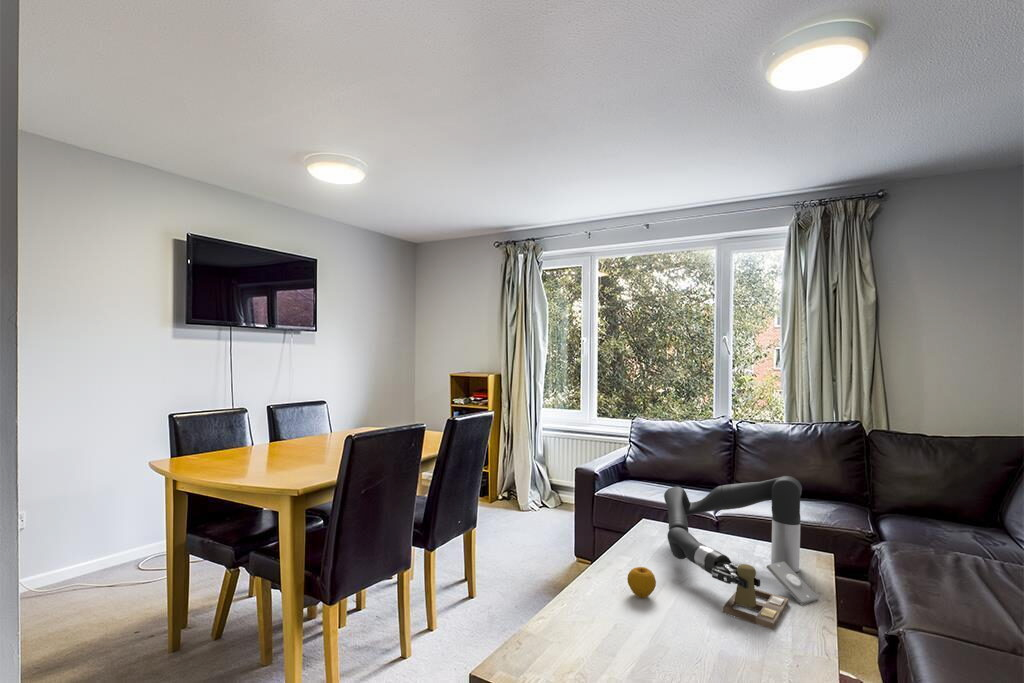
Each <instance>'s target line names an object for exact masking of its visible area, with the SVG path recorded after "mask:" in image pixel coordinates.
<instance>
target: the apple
mask: <svg viewBox="0 0 1024 683" xmlns="http://www.w3.org/2000/svg"><path fill="white" fill-rule="evenodd" d="M626 579H627V585H628V586H629V588H630V590H631V591H632V593H633V595H635V596H636V597H638V599H642V598H643V599H646V598H648V597H649V596H650V595H651V594H652V593H653V592H654V590H655V588H656V586H657V580H656V577H655V574H654V573H653V572H652V570H650V569H649V568H648V567H645V566H637V567H634V568H633V567H632V569H631V570H630V571H629V572H628V574H627V578H626Z"/></svg>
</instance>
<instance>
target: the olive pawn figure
mask: <svg viewBox="0 0 1024 683" xmlns="http://www.w3.org/2000/svg"><path fill="white" fill-rule="evenodd" d="M737 566H738V568H737V572H738V575H739V577H741V578H743V579H745V580H747V581H748V583H749V585H748V589H745V588H743V587H742V586H740V585H738V584H736V590H735V592H736V595H735V602H736V603H738V604H740V605H739V606H741V605H742V607H744V606H745V607H744V608H747V607H755V606H756V601H757V596H755V589H756V588H755V585H754V578H755V577H757V576H756V575H757V571H756V568H755V567H754V566H752V565H750V564H747V563H741V564H739V565H737ZM738 604H737V605H738Z"/></svg>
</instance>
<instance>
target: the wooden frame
mask: <svg viewBox="0 0 1024 683" xmlns="http://www.w3.org/2000/svg"><path fill="white" fill-rule="evenodd" d="M735 595H736V591H735V592H734V593H733V594H732V595H731V596H730V598H729V599H728V600H727V601H726V603H724V604H723V606H722V614H725V613H726V614H725V615H728V614H729V615H728V616H731V615H732V616H731V617H734V616H735V618H738V619H740V620H743V621H746V622H749V623H752V624H755V625H758V626H761V627H764V628H768V629H771V630H774V629H775V628H776V626H777V624H778V623H779V621H780V619H781V618H780V617H782V616H783V614H784V613H783V612H785V611H786V610H787V608H788V605H789V598H788V597H783V596H781V595H777V594H773V593H770V592H767V591H763V590H761V589H757V588H755V596H756V598H760V599H764V600H767V601H766V602H761V601H758V600H756V606H755V607H745V606H742V605H740V604H738V603H736V602H735ZM736 604H737V605H738V606H742V607H744V608H748V609H751V610H754V611H758V614H757V615H755V614H753V613H749V612H746V611H743V610H739V609H736V606H737V605H736ZM786 607H787V608H786Z"/></svg>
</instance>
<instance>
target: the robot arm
mask: <svg viewBox="0 0 1024 683" xmlns="http://www.w3.org/2000/svg"><path fill="white" fill-rule="evenodd" d="M802 492H803V487H802V484H801V483H800V481H799V480H797V479H796V478H795V477H793V476H790V475H782V476H780V477H775V478H772V479H767V480H763V481H756V482H755V481H753V482H740V483H730V484H723V485H718V486H716V487H714V488H713V489H712V490H711V491H709V493H708V494H707V495H705V497H703V498H702V499H700V500H697V501H693V502H690V499H689V497H688V495H687V492H686V490H685V489H684V488H682V487H680V486H671V487H670V488H668V489H666V490H665V492H664V493H663V498H664V502H665V504H666V507H667V514H668V532H667V540H668V544H669V547H670V552H671V554H672V555H673V557H675V558H677V559H679V560H685V559H687V560H688V561H690V562H692V563H693V564H694V565H697V566H698V567H699V568H701V569H702V570H703V571H705V572H707V573H708V574H710V575H711V577H712V578H713V579H715V580H717V581H721V582H723V583H725V584H728V585H731V584H733V585H737V584H738V585H740V586H742V587H743V588H745V589H748V585H749V583H748V581H747V580H745V579H743V578H741V577H739V575H738V572H737V568H738V566H739V565H737V564H735V563H732V561H731V559H730V558H729V556H728V555H726V554H723V553H722V552H721V551H718V550H717V549H714V548H712V547H710V546H707V545H705V544H703V543H701V542H699V541H698V540H697V538H695V537H694V536H693V535H692V533H690V532H689V523H688V518H687V517H688V516H692V515H693V516H694V515H698V514H703V513H708V512H716V511H717V512H718V511H726V510H736V509H742V508H746V507H749V506H752V505H756V504H759V503H762V502H767V501H771V514H772V515H771V516H772V517H771V518H772V519H771V553H770V554H771V557H770V558H771V559H770V560H771V561H770V564H775V563H779V562H785V563H786V564H787V565H788V566H789V567H790V568H791V569H792V570H793V571H794V572H795V573H796V574H797V573H799V572H800V561H801V560H800V558H801V557H800V556H801V555H800V554H801V553H800V549H801V520H802V519H801V496H802ZM754 586H756V587H758V588H759V587H761V579H760V578H758V577H757V576H755V578H754Z"/></svg>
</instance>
